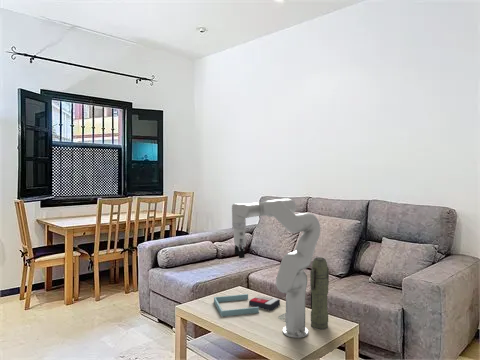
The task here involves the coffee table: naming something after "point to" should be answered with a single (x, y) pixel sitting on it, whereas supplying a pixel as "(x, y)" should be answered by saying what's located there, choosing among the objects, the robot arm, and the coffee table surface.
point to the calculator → (264, 302)
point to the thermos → (319, 293)
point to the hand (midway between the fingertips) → (239, 256)
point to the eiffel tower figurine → (282, 317)
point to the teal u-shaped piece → (234, 311)
